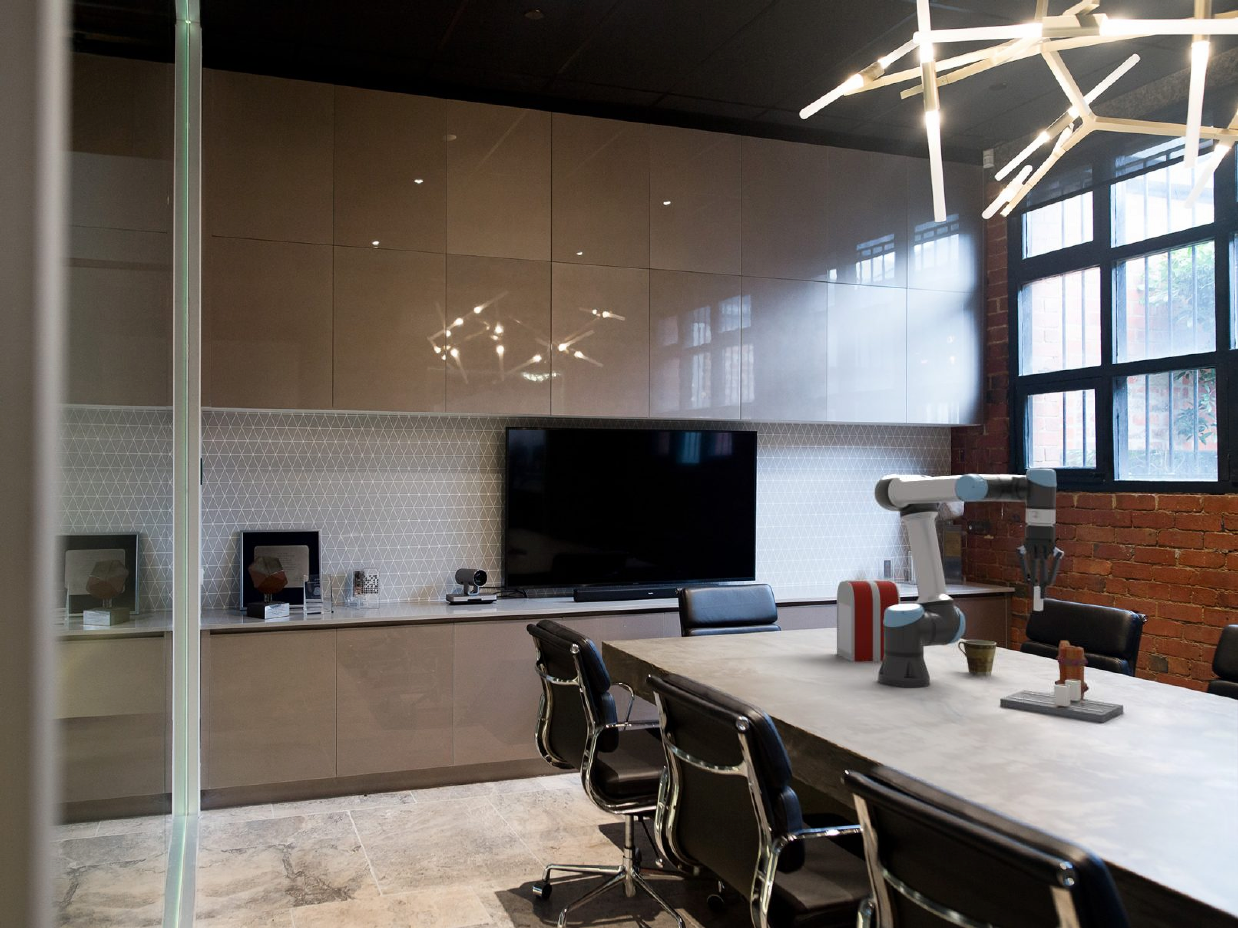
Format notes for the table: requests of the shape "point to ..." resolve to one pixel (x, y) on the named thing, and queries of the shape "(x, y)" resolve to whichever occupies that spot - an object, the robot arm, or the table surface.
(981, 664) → the ceramic cup
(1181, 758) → the table surface
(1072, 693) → the fader far
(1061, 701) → the fader near
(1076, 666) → the mug
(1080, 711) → the console
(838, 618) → the red striped block
